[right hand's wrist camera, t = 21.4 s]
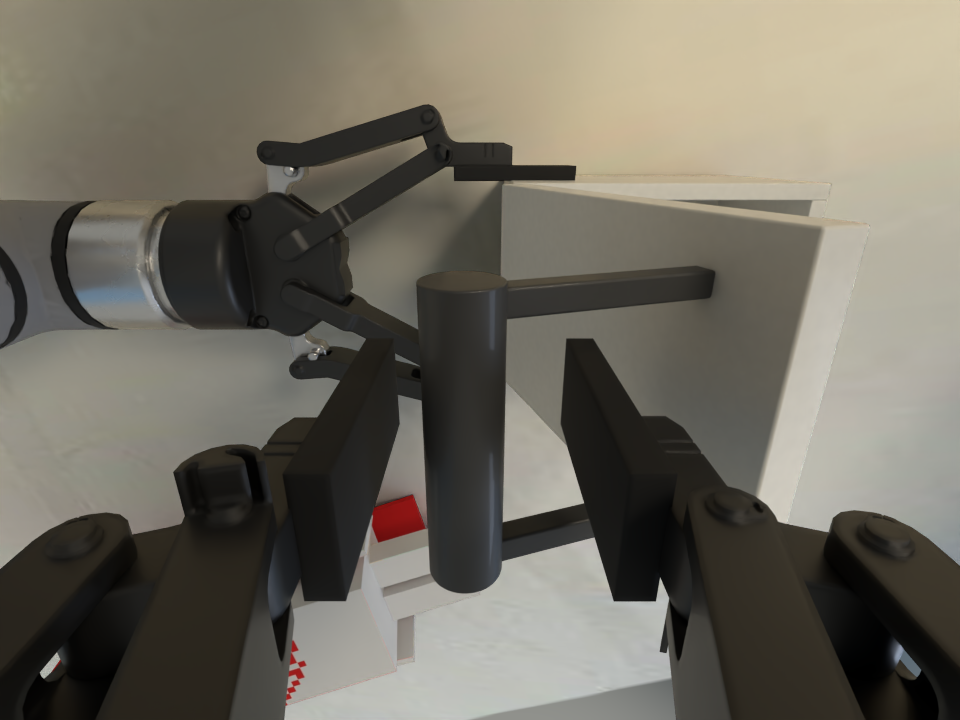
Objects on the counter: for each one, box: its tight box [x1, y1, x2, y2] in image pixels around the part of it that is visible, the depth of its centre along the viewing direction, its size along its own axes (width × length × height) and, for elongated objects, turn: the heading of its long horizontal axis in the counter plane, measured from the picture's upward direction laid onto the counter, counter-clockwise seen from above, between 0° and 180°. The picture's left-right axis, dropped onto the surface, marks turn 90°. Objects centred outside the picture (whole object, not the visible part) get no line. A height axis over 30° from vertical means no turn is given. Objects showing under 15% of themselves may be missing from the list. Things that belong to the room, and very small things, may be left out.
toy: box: [52, 495, 480, 705], centre depth 42 cm, size 12×13×30 cm
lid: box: [416, 184, 870, 594], centre depth 18 cm, size 16×10×8 cm
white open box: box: [504, 175, 832, 218], centre depth 32 cm, size 16×10×11 cm, turn 90°
